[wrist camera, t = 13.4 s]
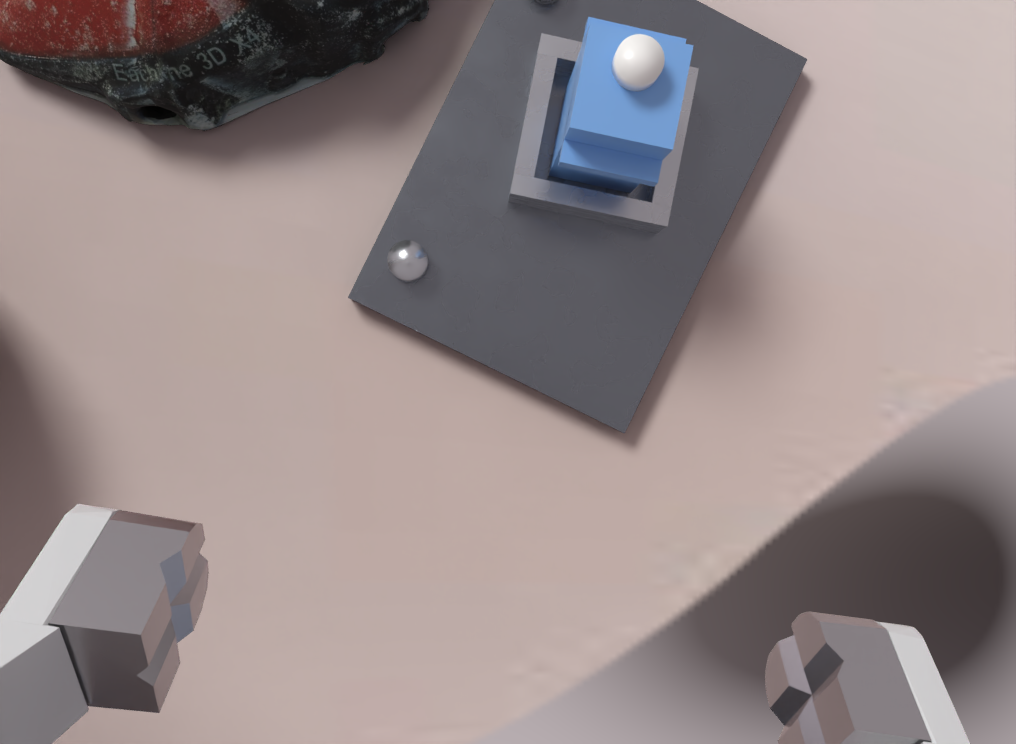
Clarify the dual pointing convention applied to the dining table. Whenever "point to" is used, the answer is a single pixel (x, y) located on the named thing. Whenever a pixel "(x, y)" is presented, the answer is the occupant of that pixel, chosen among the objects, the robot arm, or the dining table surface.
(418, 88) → the dining table surface
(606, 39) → the block
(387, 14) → the drone shell
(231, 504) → the dining table surface
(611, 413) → the plate
